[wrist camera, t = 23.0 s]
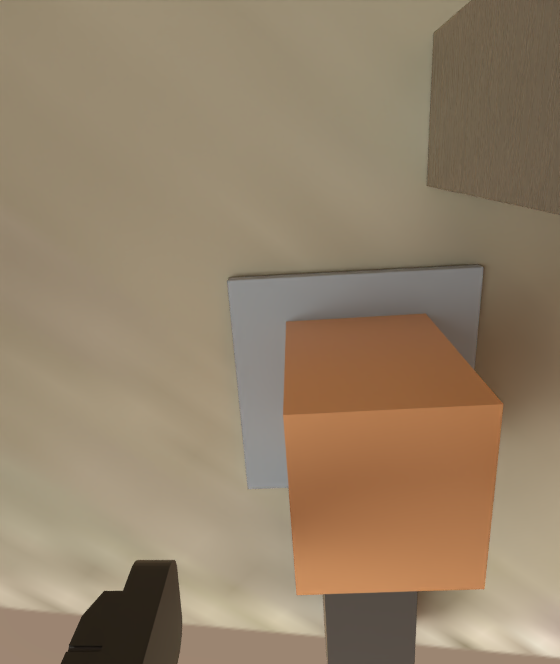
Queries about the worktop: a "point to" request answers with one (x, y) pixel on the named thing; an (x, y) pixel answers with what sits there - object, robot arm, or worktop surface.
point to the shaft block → (498, 103)
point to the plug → (385, 475)
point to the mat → (329, 303)
